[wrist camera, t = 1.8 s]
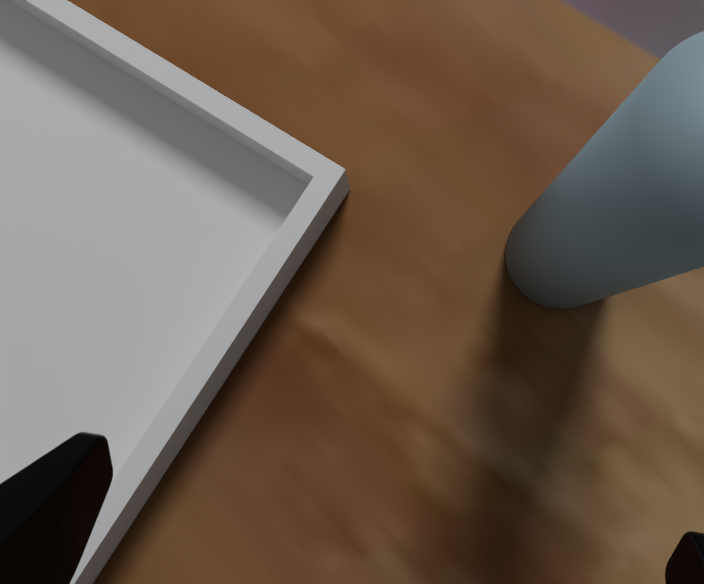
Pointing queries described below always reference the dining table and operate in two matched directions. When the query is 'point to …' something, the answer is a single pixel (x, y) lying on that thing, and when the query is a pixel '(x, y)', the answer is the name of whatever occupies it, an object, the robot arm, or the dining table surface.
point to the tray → (132, 247)
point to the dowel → (623, 196)
